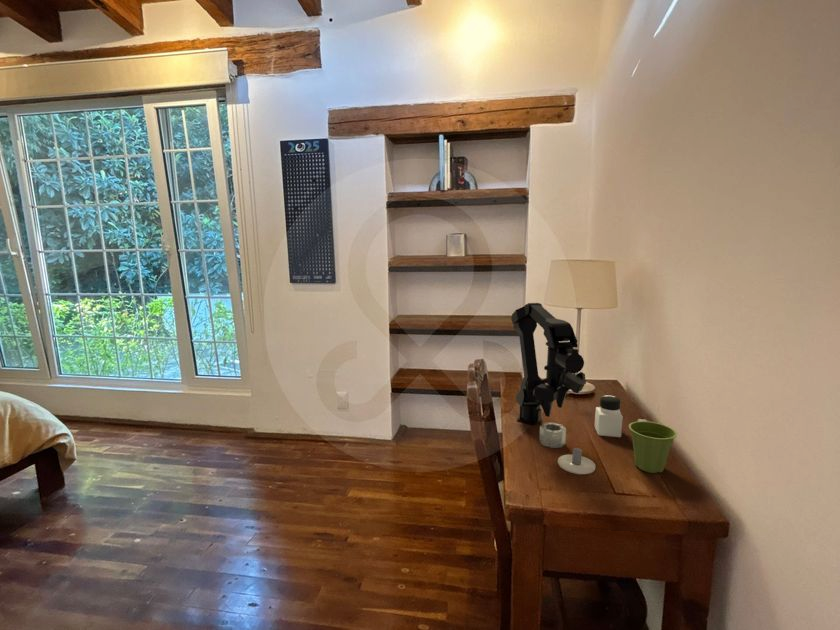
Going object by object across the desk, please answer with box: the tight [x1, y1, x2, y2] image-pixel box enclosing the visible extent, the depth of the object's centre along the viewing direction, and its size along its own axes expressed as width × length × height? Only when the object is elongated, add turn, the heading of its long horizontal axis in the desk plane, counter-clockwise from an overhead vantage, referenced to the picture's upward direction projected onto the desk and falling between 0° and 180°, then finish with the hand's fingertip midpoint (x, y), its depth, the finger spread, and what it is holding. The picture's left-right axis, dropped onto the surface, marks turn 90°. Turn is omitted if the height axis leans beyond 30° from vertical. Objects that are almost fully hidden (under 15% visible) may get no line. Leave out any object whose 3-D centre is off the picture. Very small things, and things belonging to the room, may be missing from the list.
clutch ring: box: [538, 422, 567, 449], centre depth 139 cm, size 7×7×5 cm
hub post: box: [557, 447, 596, 475], centre depth 126 cm, size 10×10×5 cm
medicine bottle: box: [594, 395, 624, 438], centre depth 146 cm, size 7×7×12 cm
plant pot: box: [628, 420, 678, 474], centre depth 124 cm, size 12×12×11 cm
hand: (553, 411), depth 138 cm, fingers open, 9 cm apart
